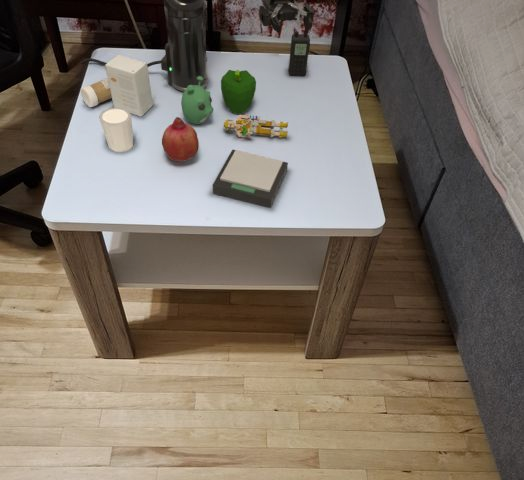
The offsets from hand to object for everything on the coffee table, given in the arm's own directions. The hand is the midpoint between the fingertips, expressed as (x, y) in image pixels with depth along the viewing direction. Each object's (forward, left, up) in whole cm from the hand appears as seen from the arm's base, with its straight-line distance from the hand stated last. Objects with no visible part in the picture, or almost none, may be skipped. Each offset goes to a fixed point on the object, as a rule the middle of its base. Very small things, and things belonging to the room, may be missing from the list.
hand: (294, 27), depth 132 cm
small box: (-31, -36, -9) cm, 48 cm away
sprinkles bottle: (-34, -28, -7) cm, 45 cm away
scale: (+5, -53, -9) cm, 54 cm away
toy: (+1, -36, -9) cm, 37 cm away
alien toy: (-14, -36, -9) cm, 39 cm away
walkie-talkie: (+3, -5, -9) cm, 11 cm away
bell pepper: (-7, -27, -9) cm, 29 cm away
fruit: (-12, -51, -9) cm, 53 cm away
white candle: (-27, -51, -9) cm, 58 cm away
